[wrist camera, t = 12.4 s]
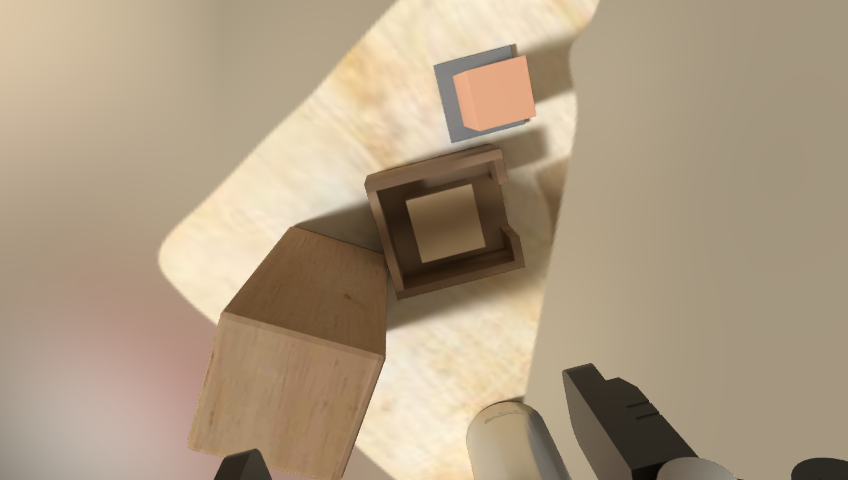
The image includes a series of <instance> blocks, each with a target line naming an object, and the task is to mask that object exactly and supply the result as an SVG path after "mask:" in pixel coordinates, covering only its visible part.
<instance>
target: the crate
mask: <svg viewBox="0 0 848 480" xmlns="http://www.w3.org/2000/svg"><path fill="white" fill-rule="evenodd" d="M504 183H508V180H507V175H506V170H505V165H504V160H503V155H502V150H501V148H499V147H496V146H494V145H492V144H486V145H482V146H478V147H475V148H471V149H467V150H463V151H459V152H456V153H452V154H448V155H444V156H440V157H437V158H433V159H429V160H425V161H421V162H418V163H414V164H410V165H406V166H403V167H399V168H395V169H391V170H387V171H384V172H380V173H376V174H372V175H368V176H367V178H366V181H365V184H364V185H365V189H366V192H367V196H368V199H369V202H370V206H371V209H372V213H373V216H374V220H375V223H376V226H377V230H378V233H379V237H380V240H381V243H382V247H383V250H384V254H385V257H386V261H387V264H388V267H389V271H390V274H391V278H392V281H393V285H394V288H395V291H396V295H397V298H398V300H401V299H404V298H408V297H412V296H416V295H420V294H423V293H427V292H431V291H435V290H439V289H442V288H446V287H450V286H454V285H458V284H462V283H465V282H469V281H473V280H477V279H481V278H484V277H488V276H492V275H496V274H500V273H503V272H507V271H511V270H515V269H519V268H523V267H525V263H524V258H523V253H522V248H521V243H520V238H519V236H518V235H517V234H516V233H515V231H514V230H513V229H512V228H511V227H510V226H509V225H508V222H507V217H506V213H505V208H504V203H503V198H502V193H501V189H500V184H504Z"/></svg>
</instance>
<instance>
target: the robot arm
mask: <svg viewBox="0 0 848 480" xmlns="http://www.w3.org/2000/svg"><path fill="white" fill-rule="evenodd" d="M562 376H563V382H564V387H565V392H566V398H567V403H568V408H569V414H570V419H571V423H572V427H573V430H574V433H575V436H576V439H577V441H578V443H579V445H580V447H581V449H582V451H583V453H584V455H585V456H586V458H587V460H588V462H589V463H590V465H591V467H592V469H593V471H594V472H595V474H596V476H597V478H598V480H741V479H737V478H736V477H735V476H734V475H733V474H732V473H731V472H730V471H729V470H727V469H726V468H724V467H723V466H721V465H719V464H717V463H715V462H712V461H710V460H706V459H703V458H699V457H698V456H697V455H696V454H695V453H694V451H693V450H692V449H691V448H690V447H689V446H688V444H687V443H686V442H685V441H684V440H683V439H682V438H681V437H680V435H679V434H678V433H677V432H676V431H675V430H674V429H673V427H672V426H671V425H670V424H669V423H668V422H667V421H666V419H665V418H664V417H663V416H662V415H660V414H659V411H658V410H657V409H656V408H655V407H654V406H653V405H652V403H650V402H649V400H648V399H647V398H646V397H645V395H644V394H643V393H642V392H641V391H640V390H639V389H638V388H637V387H636V386H634V385H632V384H630V383H629V382H627V381H625V380H623V379H621V378H619V377H618V378H614V379H610V380H607V381H606V380H605V379H604V378H603V376H602V375H601V374H600V373H599V371H598V370H597V369H596V367H595V366H594V365H593V364H592V363H589V364H585V365H581V366H577V367H574V368H570V369H566V370H563V372H562ZM466 443H467V448H468V453H469V457H470V462H471V466H472V472H473V476H474V480H572V479H571V477H570V475H569V473H568V470H567V468H566V466H565V464H564V462H563V460H562V458H561V456H560V454H559V452H558V450H557V448H556V445H555V443H554V441H553V439H552V437H551V435H550V433H549V431H548V429H547V427H546V425H545V423H544V421H543V419H542V417H541V416H540V414H539V413H538V412H537V411H536V410H534V409H533V408H531V407H530V406H527V405H525V404H523V403H518V402H503V403H497V404H495V405H492V406H489V407H488V408H486V409H484V410H483V411H481V412H480V413H479V414H478V415H477V416H476V417H475V418H474V420H473V421H472V422H471V424H470V426H469V428H468V431H467V436H466ZM214 480H272V478H271V476H270V473H269V471H268V468H267V466H266V464H265V461H264V459H263V456H262V454H261V452H260V451H259V450H258V449H256V448H255V449H251V450H247V451H243V452H239V453H235V454H231V455H228V456H226V457H225V458H224V459H223V461H222V463H221V465H220V468H219V470H218V472H217V474H216V476H215V478H214ZM791 480H848V462H847V461H844V460H839V459H834V458H812V459H808V460H805V461H802V462H800V463H799V464H797V466H795V467H794V469H793V470H792V474H791Z"/></svg>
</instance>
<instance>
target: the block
mask: <svg viewBox="0 0 848 480" xmlns="http://www.w3.org/2000/svg"><path fill="white" fill-rule="evenodd" d="M453 80H454V84H455V89H456V93H457V97H458V102H459V106H460V111H461V115H462V120H463V124H464V126H465V127H468V128H471V129H474V130H477V131H482V130H486V129H490V128H494V127H497V126H501V125H505V124H509V123H512V122H516V121H520V120H524V119H528V118H531V117H535V116H536V111H535V106H534V100H533V95H532V89H531V83H530V78H529V72H528V67H527V61H526V56H525V55H524V56H520V57H516V58H512V59H509V60H505V61H501V62H497V63H494V64H490V65H486V66H482V67H479V68H475V69H471V70H467V71H465V72H462V73H460V74H457V75H455V76H453Z"/></svg>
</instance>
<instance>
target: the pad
mask: <svg viewBox="0 0 848 480" xmlns="http://www.w3.org/2000/svg"><path fill="white" fill-rule="evenodd" d="M512 58H513V57H512V51H511V46H506V47H502V48H499V49H495V50H491V51H487V52H484V53H480V54H476V55H472V56H468V57H465V58H461V59H457V60H453V61H450V62H446V63H442V64H438V65H434V70H435V75H436V79H437V83H438V88H439V92H440V96H441V100H442V105H443V109H444V113H445V118H446V122H447V126H448V130H449V135H450V139H451V143H454V142H458V141H462V140H466V139H470V138H473V137H477V136H481V135H485V134H489V133H492V132H496V131H500V130H504V129H508V128H511V127H515V126H519V125H523V124H525V121H524V120H520V121H516V122H512V123H509V124H505V125H501V126H497V127H494V128H490V129H486V130H482V131H477V130H474V129H471V128H468V127H465V126H464V124H463V120H462V115H461V111H460V106H459V102H458V97H457V93H456V89H455V84H454V80H453V76H455V75H457V74H460V73H462V72H465V71H467V70H471V69H475V68H479V67H482V66H486V65H490V64H494V63H497V62H501V61H505V60H509V59H512Z"/></svg>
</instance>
